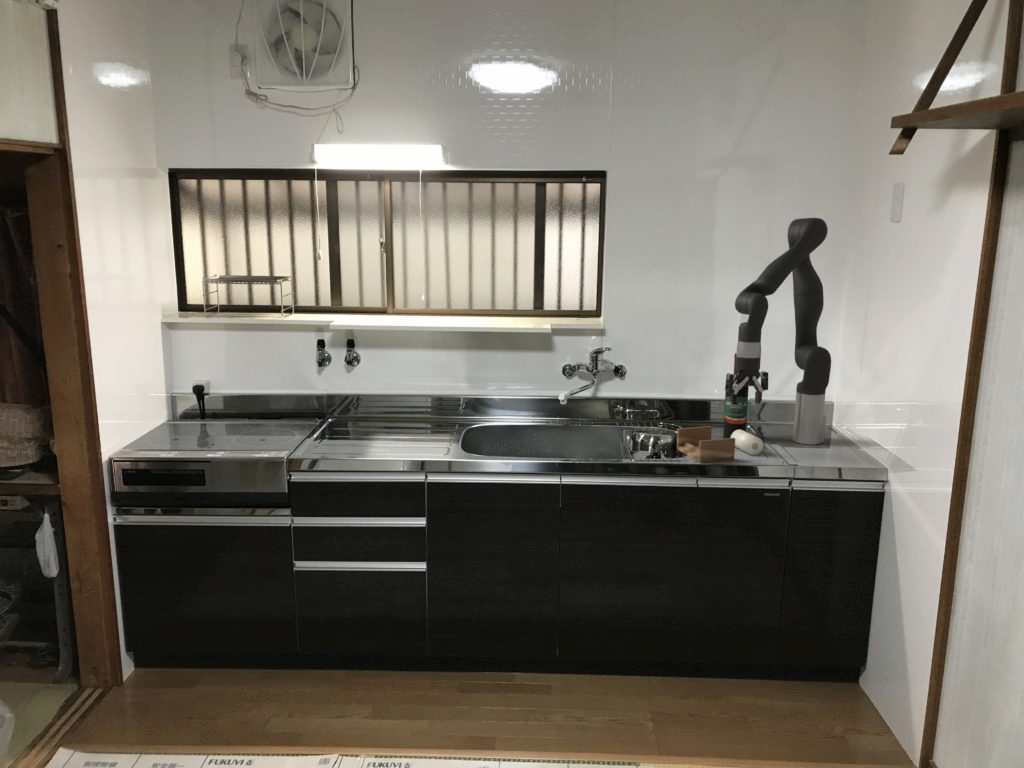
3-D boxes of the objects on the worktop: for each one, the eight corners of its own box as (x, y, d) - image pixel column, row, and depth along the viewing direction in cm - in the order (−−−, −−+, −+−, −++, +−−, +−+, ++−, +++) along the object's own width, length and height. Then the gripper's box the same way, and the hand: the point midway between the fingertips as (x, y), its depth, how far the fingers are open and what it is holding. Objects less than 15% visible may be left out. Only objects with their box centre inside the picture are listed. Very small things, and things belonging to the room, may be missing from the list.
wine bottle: (748, 437, 265) (752, 352, 259) (742, 442, 258) (747, 356, 252) (726, 434, 268) (730, 351, 262) (720, 439, 262) (724, 354, 256)
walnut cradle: (676, 448, 252) (677, 428, 250) (709, 446, 255) (710, 425, 253) (699, 463, 237) (700, 441, 235) (734, 459, 239) (735, 438, 238)
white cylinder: (727, 443, 253) (733, 427, 252) (742, 448, 255) (748, 432, 254) (744, 452, 243) (751, 435, 242) (759, 457, 245) (766, 440, 244)
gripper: (761, 352, 248) (758, 400, 251) (722, 354, 244) (720, 403, 248) (774, 355, 241) (771, 405, 244) (734, 358, 237) (732, 408, 240)
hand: (745, 404), depth 246 cm, fingers open, 8 cm apart
